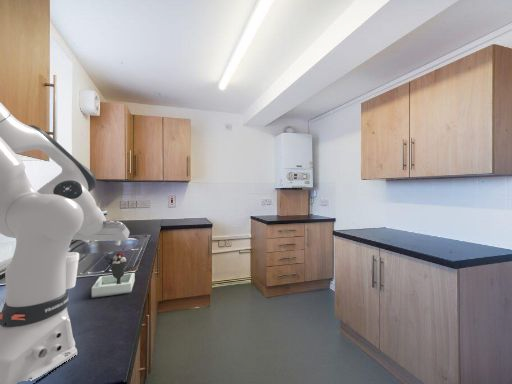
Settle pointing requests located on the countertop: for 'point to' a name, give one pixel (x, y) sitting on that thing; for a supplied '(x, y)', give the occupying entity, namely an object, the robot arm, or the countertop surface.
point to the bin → (113, 285)
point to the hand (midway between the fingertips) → (105, 243)
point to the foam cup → (71, 269)
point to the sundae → (118, 266)
